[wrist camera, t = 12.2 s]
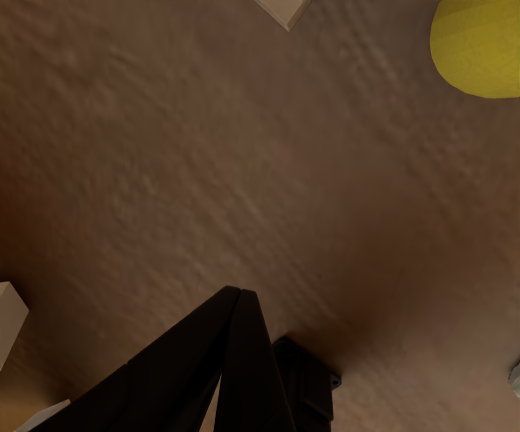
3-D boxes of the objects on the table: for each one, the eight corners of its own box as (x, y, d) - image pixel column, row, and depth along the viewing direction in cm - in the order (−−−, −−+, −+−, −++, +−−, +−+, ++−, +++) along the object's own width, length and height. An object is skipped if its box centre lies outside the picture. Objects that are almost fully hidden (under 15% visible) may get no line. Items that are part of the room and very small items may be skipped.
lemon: (383, 47, 15) (449, 17, 8) (479, -68, 13) (686, -250, 6) (458, 116, 16) (578, 145, 9) (561, 18, 14) (831, -50, 7)
